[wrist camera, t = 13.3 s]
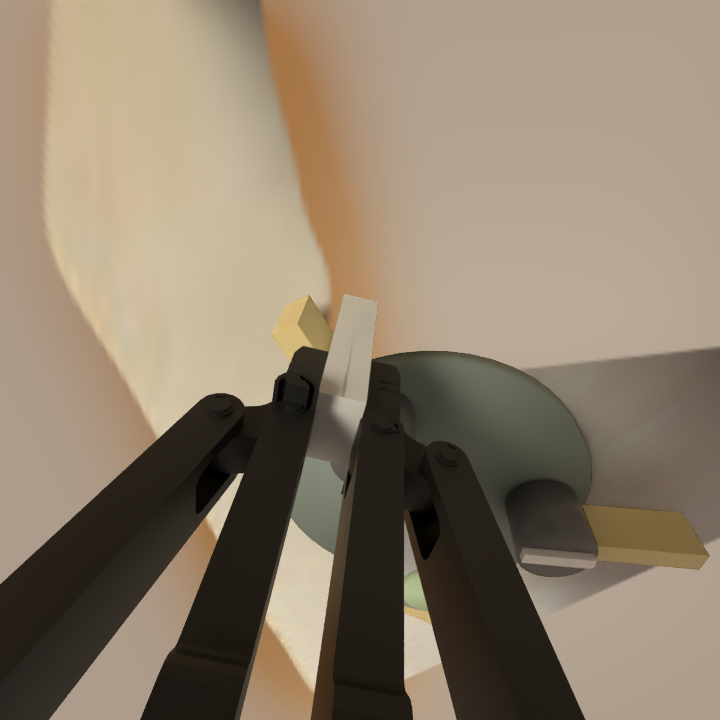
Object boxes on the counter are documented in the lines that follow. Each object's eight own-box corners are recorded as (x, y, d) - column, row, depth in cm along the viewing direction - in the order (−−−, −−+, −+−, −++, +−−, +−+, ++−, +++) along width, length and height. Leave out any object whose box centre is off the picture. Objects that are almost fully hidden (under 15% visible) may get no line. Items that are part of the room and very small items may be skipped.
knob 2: (498, 522, 27) (510, 580, 24) (513, 477, 25) (528, 534, 22) (661, 536, 26) (694, 597, 23) (691, 491, 24) (732, 552, 21)
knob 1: (428, 431, 23) (431, 485, 20) (360, 453, 25) (354, 506, 22) (338, 278, 19) (325, 318, 16) (262, 315, 20) (237, 358, 17)
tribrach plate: (268, 339, 23) (217, 441, 16) (632, 363, 22) (723, 482, 16) (288, 550, 33) (262, 663, 26) (539, 573, 32) (572, 696, 26)
